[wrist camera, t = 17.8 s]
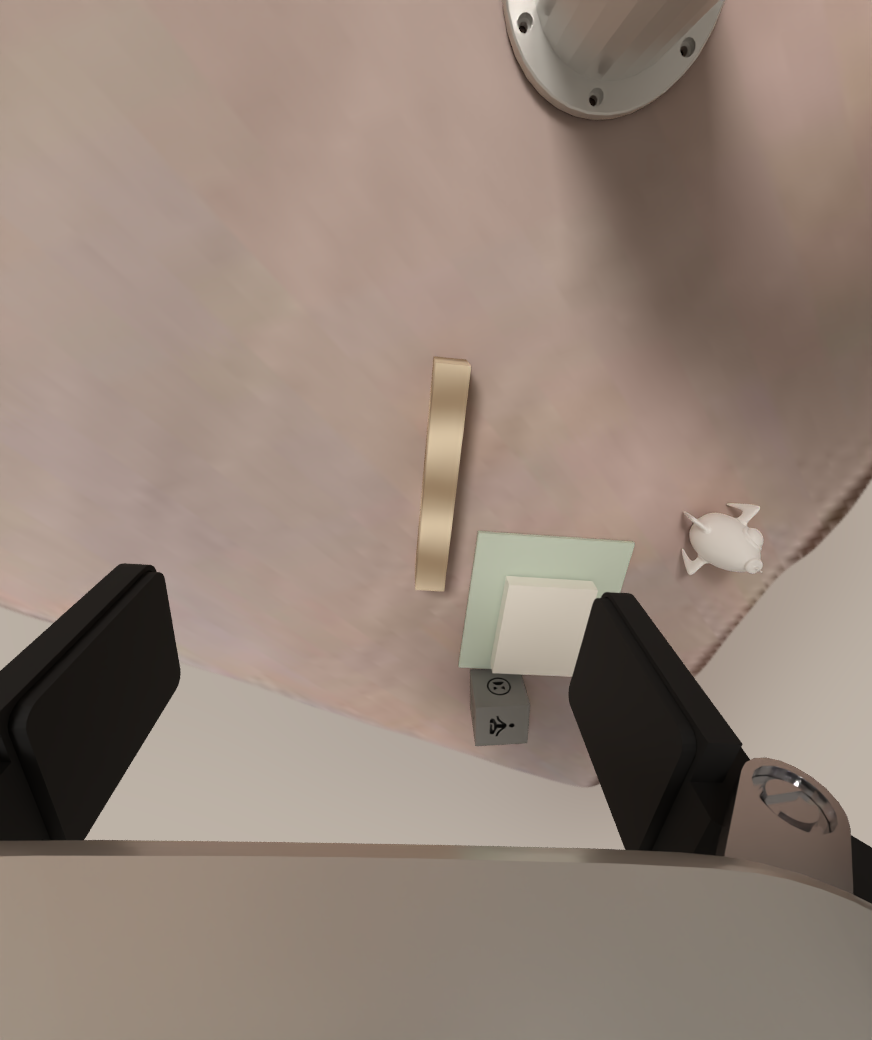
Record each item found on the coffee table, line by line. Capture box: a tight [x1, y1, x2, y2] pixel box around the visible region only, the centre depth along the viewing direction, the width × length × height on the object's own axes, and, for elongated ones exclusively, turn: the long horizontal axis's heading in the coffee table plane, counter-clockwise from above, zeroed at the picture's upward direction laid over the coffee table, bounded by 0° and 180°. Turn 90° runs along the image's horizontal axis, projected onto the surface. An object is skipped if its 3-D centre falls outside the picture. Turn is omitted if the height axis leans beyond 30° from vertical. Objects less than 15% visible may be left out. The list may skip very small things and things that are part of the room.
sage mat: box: [458, 531, 635, 669], centre depth 45 cm, size 15×14×1 cm
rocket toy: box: [682, 503, 764, 575], centre depth 38 cm, size 5×5×8 cm
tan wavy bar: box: [415, 357, 471, 591], centre depth 37 cm, size 18×2×4 cm, turn 175°
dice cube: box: [470, 669, 530, 746], centre depth 47 cm, size 5×5×5 cm
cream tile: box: [490, 576, 598, 677], centre depth 44 cm, size 2×8×10 cm
